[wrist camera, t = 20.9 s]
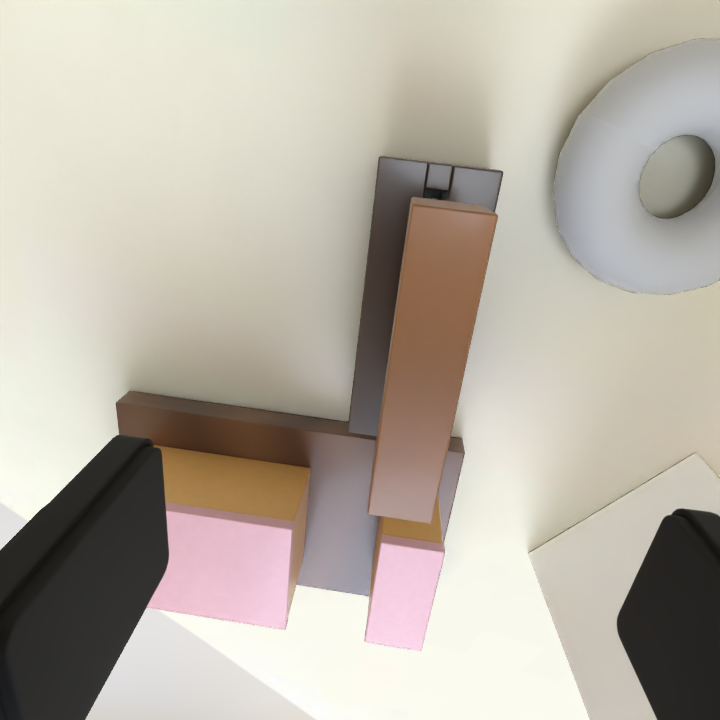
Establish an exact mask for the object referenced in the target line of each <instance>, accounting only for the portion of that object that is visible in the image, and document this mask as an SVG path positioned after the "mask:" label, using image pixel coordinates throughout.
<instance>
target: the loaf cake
mask: <svg viewBox="0 0 720 720" xmlns="http://www.w3.org/2000/svg"><path fill="white" fill-rule="evenodd" d="M154 447H157V448H160V450H161V452H162V461H163V475H164V489H165V503H166V517H167V531H168V545H169V561H168V565H167V569H166V572H165V574H164V576H163V578H162V580H161V582H160V583H159V585H158V587H157V589H156V591H155V593H154V594H153V596H152V598H151V600H150V602H149V604H148V605H147V608H153V609H159V610H165V611H171V612H177V613H184V614H190V615H196V616H202V617H208V618H214V619H221V620H227V621H233V622H239V623H245V624H252V625H258V626H264V627H270V628H276V629H282V630H285V629H286V626H287V622H288V614H289V610H290V606H291V603H292V599H293V595H294V591H295V587H296V584H297V580H298V576H299V572H300V568H301V564H302V561H303V555H304V543H305V530H306V518H307V506H308V493H309V481H310V468H306V467H299V466H293V465H286V464H279V463H272V462H265V461H259V460H252V459H245V458H238V457H231V456H225V455H218V454H211V453H204V452H198V451H191V450H184V449H177V448H170V447H164V446H157V445H154Z"/></svg>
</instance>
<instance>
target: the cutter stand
mask: <svg viewBox="0 0 720 720" xmlns="http://www.w3.org/2000/svg"><path fill="white" fill-rule="evenodd" d="M502 177H503V171H501V170H494V169H487V168H479V167H470V166H462V165H454V164H445V163H437V162H428V161H427V162H426V161H420V160H412V159H403V158H395V157H386V156H380V157H379V161H378V170H377V179H376V188H375V196H374V205H373V214H372V223H371V231H370V240H369V249H368V257H367V266H366V275H365V284H364V292H363V301H362V310H361V319H360V327H359V336H358V345H357V354H356V362H355V371H354V380H353V388H352V397H351V406H350V415H349V423H348V432H353V433H360V434H367V435H374V436H377V432H378V425H379V418H380V412H381V405H382V398H383V391H384V384H385V377H386V370H387V363H388V356H389V349H390V342H391V335H392V328H393V321H394V314H395V307H396V300H397V293H398V286H399V279H400V272H401V265H402V258H403V251H404V244H405V237H406V230H407V223H408V217H409V210H410V203H411V198H412V197H419V198H423V196H424V189H425V188H426V189H434V190H443V193H442V199H441V200H443V201H452V202H460V203H468V204H476V205H483V206H485V207H486V208H488V209H489V210H491V211H492V212H494V213H495V209H496V205H497V200H498V195H499V191H500V186H501V181H502Z"/></svg>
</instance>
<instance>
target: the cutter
mask: <svg viewBox="0 0 720 720" xmlns="http://www.w3.org/2000/svg"><path fill="white" fill-rule="evenodd" d="M497 218H498V215H497V214H496V213H494V212H492V211H491V210H489V209H488V208H486V207H485V206H483V205H476V204H468V203H460V202H452V201H443V200H437V198H431V199H427V198H419V197H412V198H411V203H410V210H409V217H408V223H407V230H406V237H405V244H404V251H403V258H402V265H401V272H400V279H399V286H398V293H397V300H396V307H395V314H394V321H393V328H392V335H391V342H390V349H389V356H388V363H387V370H386V377H385V384H384V391H383V398H382V405H381V412H380V418H379V425H378V432H377V439H376V446H375V453H374V460H373V467H372V475H371V483H370V492H369V501H368V509H367V513H368V514H369V515H376V516H383V517H389V518H396V519H403V520H409V521H416V522H423V523H429V524H430V523H432V520H433V515H434V511H435V506H436V501H437V497H438V492H439V487H440V483H441V478H442V473H443V469H444V464H445V460H446V455H447V450H448V446H449V441H450V436H451V432H452V427H453V422H454V418H455V413H456V409H457V404H458V399H459V395H460V390H461V385H462V381H463V376H464V371H465V367H466V362H467V358H468V353H469V348H470V344H471V339H472V334H473V330H474V325H475V320H476V316H477V311H478V307H479V302H480V297H481V293H482V288H483V283H484V279H485V274H486V269H487V265H488V260H489V256H490V251H491V246H492V242H493V237H494V232H495V228H496V223H497Z"/></svg>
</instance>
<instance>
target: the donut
mask: <svg viewBox="0 0 720 720" xmlns="http://www.w3.org/2000/svg"><path fill="white" fill-rule="evenodd" d="M681 135H695V136H697V137H700V138H702V139H703V140H704V141H705V142H706V143H707V144H708V145H709V146H710V147H711V149H712V151H713V154H714V156H715V174H714V178H713V181H712V184H711V187H710V189H709V190H708V192H707V193H706V195H705V197H704V198H703V200H702V201H701V202H700V203H699V204H697V205H696V206H695V207H694V208H693V209H692V210H690V211H688V212H686V213H685V214H683V215H681V216H679V217H675V218H671V219H660V218H658V217H655V216H653V215H651V214H650V213H649V212H648V211H647V210H645V208H644V206H643V204H642V201H641V199H640V194H639V182H640V178H641V173H642V170H643V168H644V166H645V165H646V163H647V161H648V159H649V157H650V156H651V155H652V154H653V153H654V152H655V151H656V150H657V149H658V148H659V147H660V146H661V145H662V144H664V143H665V142H667V141H668V140H670V139H672V138H674V137H677V136H681ZM553 199H554V207H555V215H556V222H557V227H558V229H559V231H560V233H561V235H562V237H563V239H564V241H565V243H566V245H567V247H568V249H569V250H570V252H571V254H572V256H573V258H574V259H575V260H576V261H577V262H579V263H580V264H581V265H582V266H583V267H584V268H585V269H586V270H588V271H589V272H590V273H591V274H592V275H593V276H594V277H595V278H597V279H598V280H600V281H603V282H605V283H608V284H610V285H613V286H615V287H618V288H620V289H623V290H626V291H628V292H632V293H645V294H663V295H671V294H676V293H680V292H684V291H689V290H693V289H697V288H702V287H706V286H709V285H711V284H713V283H715V282H717V281H719V280H720V39H703V38H702V39H693V40H690V41H687V42H684V43H681V44H677V45H674V46H671V47H668V48H665V49H662V50H659V51H655V52H652V53H650V54H648V55H647V56H645V57H644V58H642V59H641V60H640V61H638V62H637V63H635V64H634V65H632V66H631V67H629V68H628V69H626V70H625V71H623V72H622V73H620V74H619V75H617V76H616V77H614V78H613V79H611V80H610V81H609V82H608V83H607V84H606V85H605V86H604V87H603V89H602V90H601V91H600V92H599V93H598V94H597V95H596V97H595V98H594V99H593V100H592V101H591V102H590V103H589V105H588V106H587V107H586V108H585V109H584V110H583V111H582V113H581V114H580V115H579V116H578V118H577V120H576V122H575V124H574V126H573V128H572V130H571V132H570V134H569V136H568V138H567V140H566V142H565V144H564V146H563V148H562V150H561V152H560V154H559V159H558V165H557V170H556V176H555V181H554V187H553Z"/></svg>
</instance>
